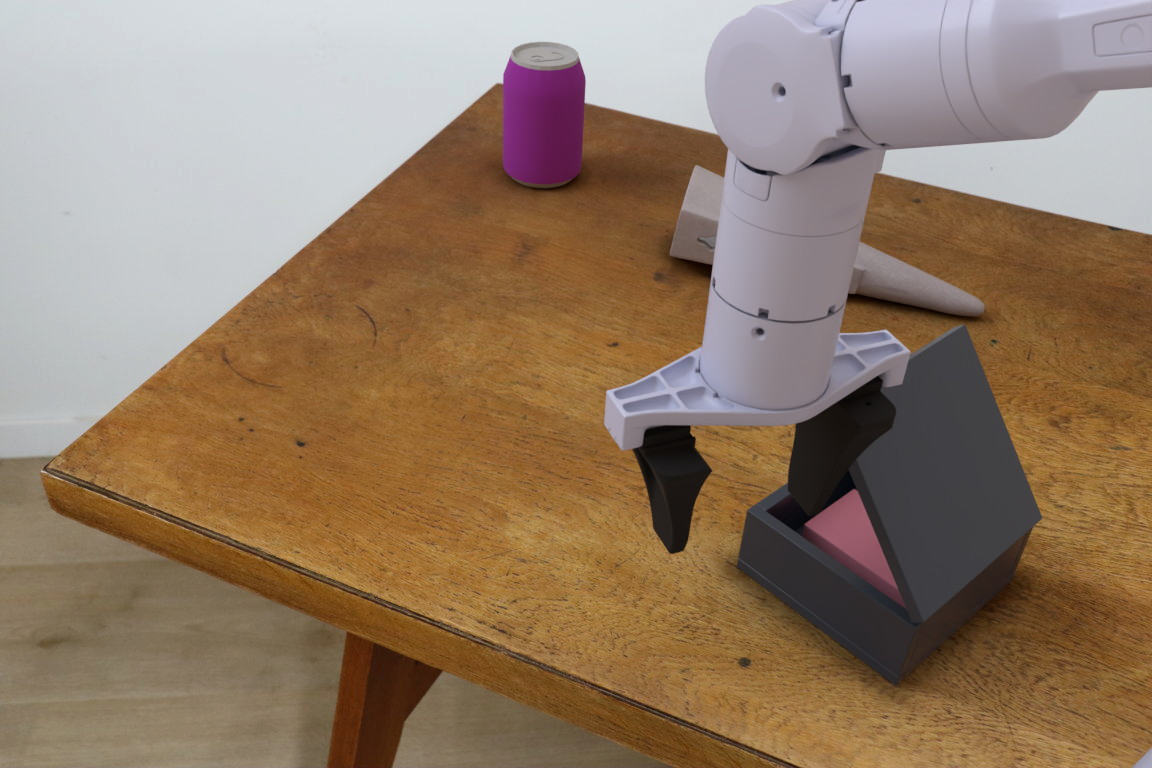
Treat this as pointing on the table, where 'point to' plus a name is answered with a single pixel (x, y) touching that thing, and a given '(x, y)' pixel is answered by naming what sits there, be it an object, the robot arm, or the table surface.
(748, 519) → the box
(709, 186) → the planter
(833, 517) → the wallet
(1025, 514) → the lid
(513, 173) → the beverage can
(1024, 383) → the table surface
